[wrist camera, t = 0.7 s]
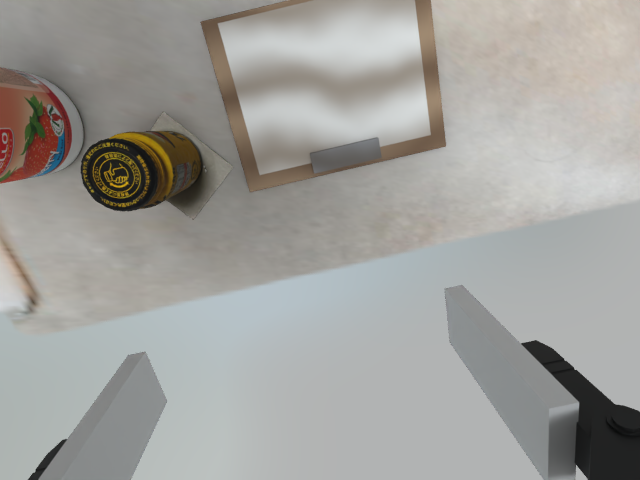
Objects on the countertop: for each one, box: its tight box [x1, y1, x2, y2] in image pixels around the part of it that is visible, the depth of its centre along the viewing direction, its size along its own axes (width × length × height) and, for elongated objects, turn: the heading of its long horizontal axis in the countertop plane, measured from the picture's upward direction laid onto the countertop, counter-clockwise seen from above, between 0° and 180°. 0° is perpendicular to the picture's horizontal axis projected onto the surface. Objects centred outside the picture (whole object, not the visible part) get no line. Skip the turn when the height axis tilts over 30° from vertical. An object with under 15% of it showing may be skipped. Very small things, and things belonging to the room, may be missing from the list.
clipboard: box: [201, 0, 446, 192], centre depth 34 cm, size 16×21×2 cm
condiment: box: [81, 112, 233, 220], centre depth 31 cm, size 7×8×12 cm
